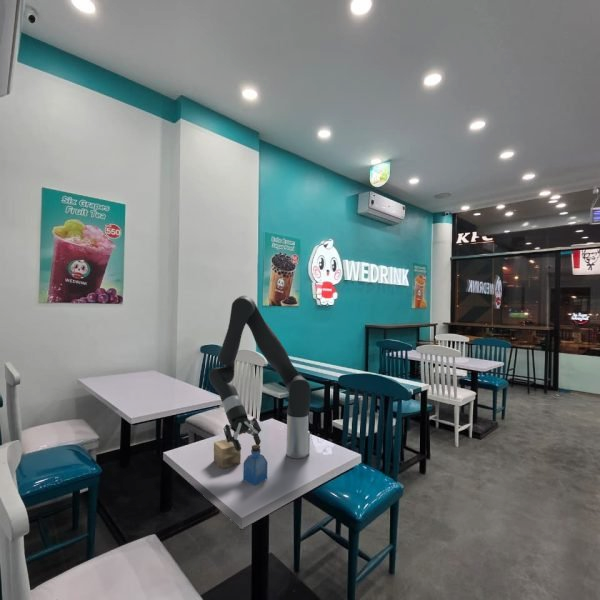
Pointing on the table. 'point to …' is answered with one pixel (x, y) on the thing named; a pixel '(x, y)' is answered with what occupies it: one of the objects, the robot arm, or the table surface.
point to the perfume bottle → (255, 466)
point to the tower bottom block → (227, 461)
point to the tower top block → (225, 449)
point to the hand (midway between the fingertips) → (249, 447)
